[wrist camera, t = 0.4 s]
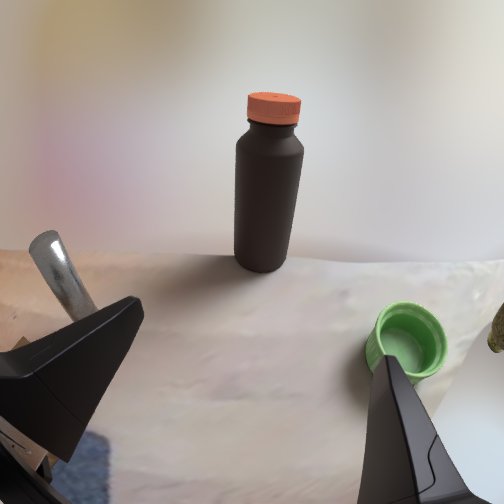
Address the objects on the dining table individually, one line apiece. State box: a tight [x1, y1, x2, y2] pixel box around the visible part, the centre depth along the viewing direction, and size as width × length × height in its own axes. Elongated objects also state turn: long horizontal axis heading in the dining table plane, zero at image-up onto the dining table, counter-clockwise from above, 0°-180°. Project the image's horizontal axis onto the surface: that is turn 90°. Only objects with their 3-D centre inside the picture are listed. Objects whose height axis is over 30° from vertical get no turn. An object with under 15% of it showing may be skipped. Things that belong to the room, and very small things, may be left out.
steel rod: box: [29, 230, 98, 322], centre depth 21 cm, size 3×3×13 cm
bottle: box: [234, 92, 304, 272], centre depth 29 cm, size 7×7×20 cm
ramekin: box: [366, 301, 448, 385], centre depth 24 cm, size 9×9×4 cm
